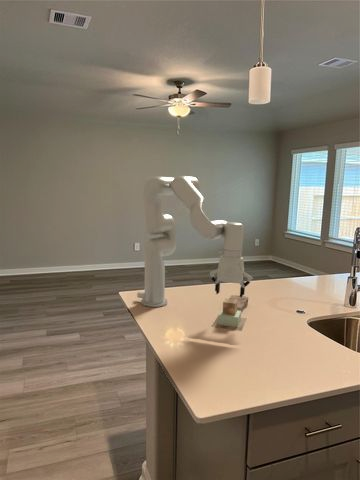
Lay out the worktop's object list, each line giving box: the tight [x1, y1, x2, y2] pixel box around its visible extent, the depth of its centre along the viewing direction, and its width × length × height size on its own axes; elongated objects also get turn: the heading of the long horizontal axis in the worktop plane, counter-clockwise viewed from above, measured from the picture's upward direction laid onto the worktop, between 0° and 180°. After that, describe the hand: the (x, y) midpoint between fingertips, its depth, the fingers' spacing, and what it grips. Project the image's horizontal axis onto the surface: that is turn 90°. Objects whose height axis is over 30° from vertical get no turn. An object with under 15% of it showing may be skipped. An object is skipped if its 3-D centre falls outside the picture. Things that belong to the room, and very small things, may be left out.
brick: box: [228, 294, 249, 314], centre depth 167 cm, size 17×8×5 cm, turn 158°
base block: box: [217, 308, 242, 327], centre depth 148 cm, size 8×8×4 cm
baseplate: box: [211, 316, 247, 332], centre depth 148 cm, size 12×14×1 cm
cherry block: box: [222, 298, 237, 316], centre depth 147 cm, size 5×5×5 cm
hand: (229, 294), depth 147 cm, fingers open, 9 cm apart
